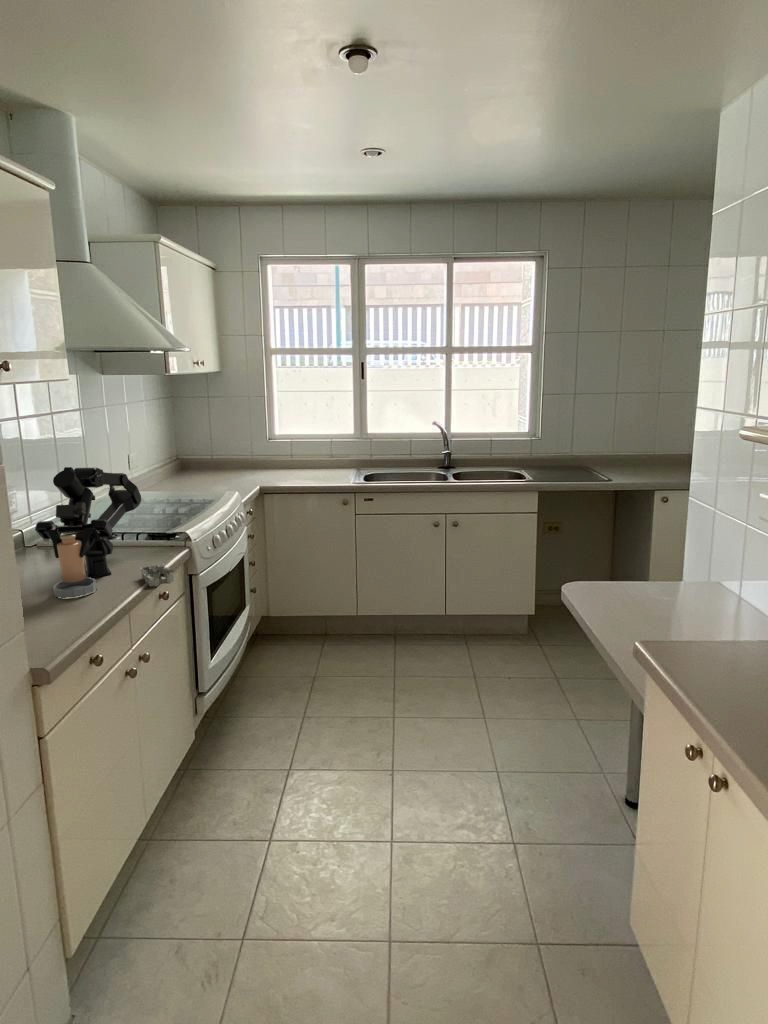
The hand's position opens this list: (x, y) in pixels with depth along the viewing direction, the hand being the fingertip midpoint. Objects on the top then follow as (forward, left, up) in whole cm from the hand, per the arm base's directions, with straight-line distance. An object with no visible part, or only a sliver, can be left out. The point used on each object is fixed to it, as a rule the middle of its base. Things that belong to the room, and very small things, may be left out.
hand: (68, 557), depth 179 cm
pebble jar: (-1, +1, -7) cm, 7 cm away
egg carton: (+2, +22, -11) cm, 24 cm away
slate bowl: (-1, +1, -10) cm, 11 cm away
